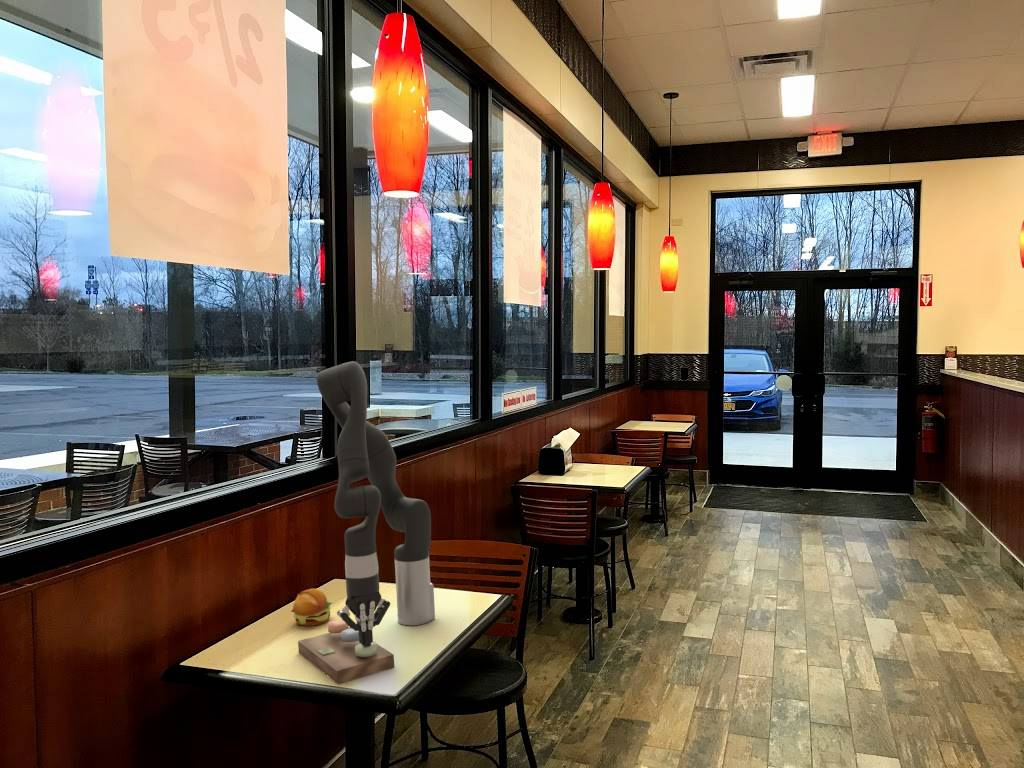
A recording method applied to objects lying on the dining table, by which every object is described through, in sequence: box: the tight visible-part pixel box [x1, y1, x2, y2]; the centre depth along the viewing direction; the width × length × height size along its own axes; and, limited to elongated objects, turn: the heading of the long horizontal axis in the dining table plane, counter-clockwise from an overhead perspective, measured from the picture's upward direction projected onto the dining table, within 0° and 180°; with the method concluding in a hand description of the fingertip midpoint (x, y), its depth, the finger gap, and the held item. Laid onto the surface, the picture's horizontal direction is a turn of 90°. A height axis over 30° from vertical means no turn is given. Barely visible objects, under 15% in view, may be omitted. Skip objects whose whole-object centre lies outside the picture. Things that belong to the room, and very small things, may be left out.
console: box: [297, 627, 395, 685], centre depth 193 cm, size 14×24×3 cm, turn 35°
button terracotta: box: [327, 619, 349, 633], centre depth 201 cm, size 5×5×2 cm
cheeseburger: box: [290, 588, 333, 627], centre depth 221 cm, size 10×11×10 cm
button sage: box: [355, 641, 378, 657], centre depth 188 cm, size 5×5×2 cm
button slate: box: [341, 628, 359, 642], centre depth 194 cm, size 5×5×2 cm
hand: (366, 645), depth 187 cm, fingers closed
